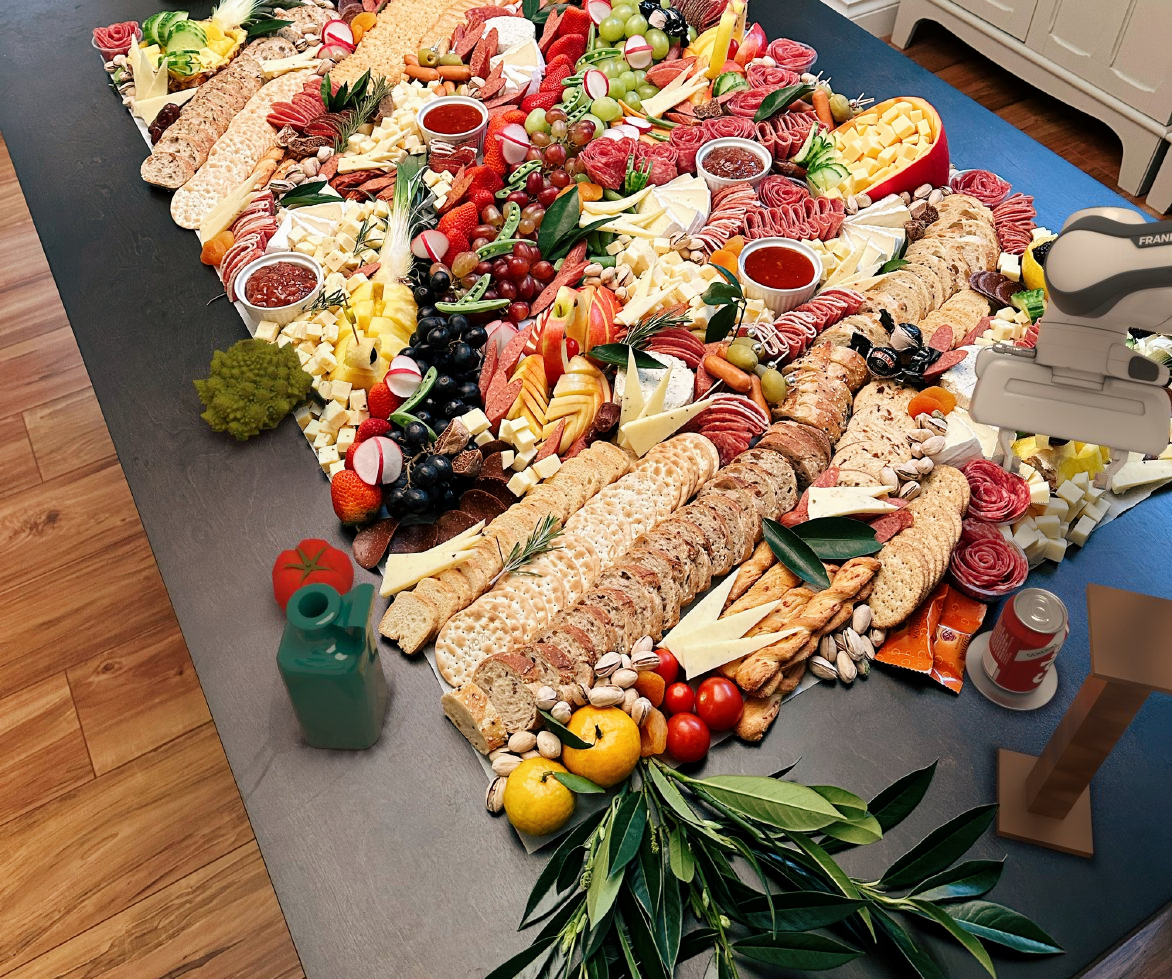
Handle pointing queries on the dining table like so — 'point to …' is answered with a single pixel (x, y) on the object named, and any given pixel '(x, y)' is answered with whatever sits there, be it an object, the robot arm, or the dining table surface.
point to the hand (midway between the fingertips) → (1055, 480)
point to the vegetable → (255, 387)
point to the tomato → (311, 569)
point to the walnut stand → (1088, 722)
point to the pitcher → (333, 666)
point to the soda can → (1026, 640)
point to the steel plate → (1000, 694)
